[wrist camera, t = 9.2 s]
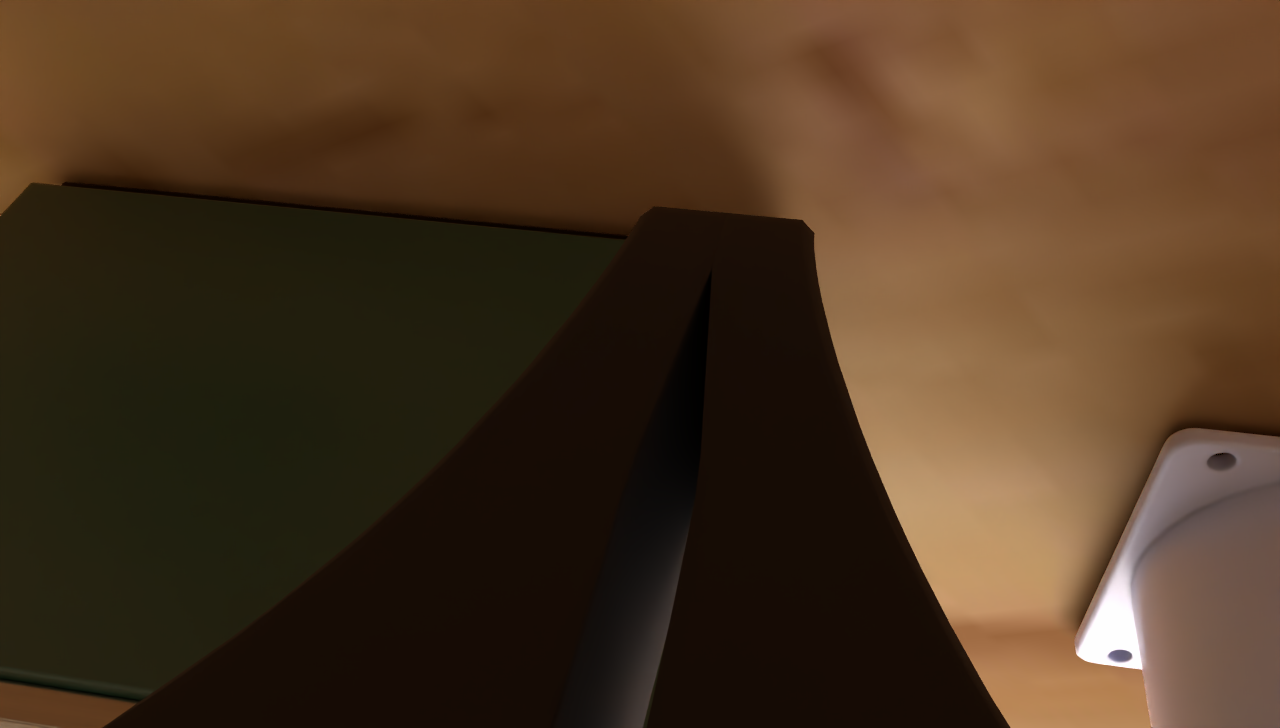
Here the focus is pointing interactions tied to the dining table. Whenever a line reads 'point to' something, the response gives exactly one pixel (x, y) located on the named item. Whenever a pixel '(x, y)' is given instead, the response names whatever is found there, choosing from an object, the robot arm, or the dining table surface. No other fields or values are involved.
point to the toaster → (228, 410)
